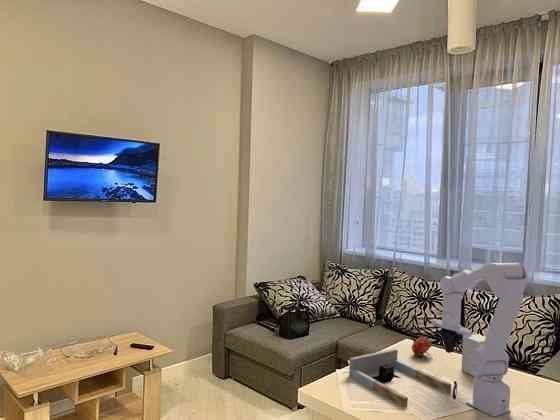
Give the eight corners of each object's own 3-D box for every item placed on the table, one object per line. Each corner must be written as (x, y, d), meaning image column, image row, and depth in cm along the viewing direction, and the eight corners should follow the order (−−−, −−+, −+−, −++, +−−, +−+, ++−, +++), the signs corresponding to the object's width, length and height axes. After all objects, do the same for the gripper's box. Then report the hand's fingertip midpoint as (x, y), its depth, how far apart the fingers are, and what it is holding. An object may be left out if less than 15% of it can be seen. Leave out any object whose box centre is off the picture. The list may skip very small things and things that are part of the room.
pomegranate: (430, 360, 174) (411, 340, 178) (442, 349, 170) (422, 328, 174) (422, 367, 168) (403, 346, 173) (433, 356, 164) (413, 335, 169)
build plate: (392, 372, 156) (392, 359, 156) (407, 380, 150) (408, 367, 150) (365, 378, 150) (365, 365, 150) (380, 387, 144) (381, 373, 143)
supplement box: (492, 375, 155) (494, 340, 154) (476, 378, 152) (478, 342, 152) (476, 367, 162) (478, 333, 161) (460, 370, 159) (462, 335, 158)
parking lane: (450, 392, 141) (451, 373, 140) (403, 406, 130) (404, 386, 130) (393, 364, 162) (394, 348, 161) (349, 375, 151) (349, 358, 150)
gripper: (478, 316, 145) (476, 357, 146) (441, 305, 158) (439, 343, 158) (464, 318, 142) (462, 360, 142) (428, 307, 154) (426, 346, 155)
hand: (449, 351), depth 150 cm, fingers closed
